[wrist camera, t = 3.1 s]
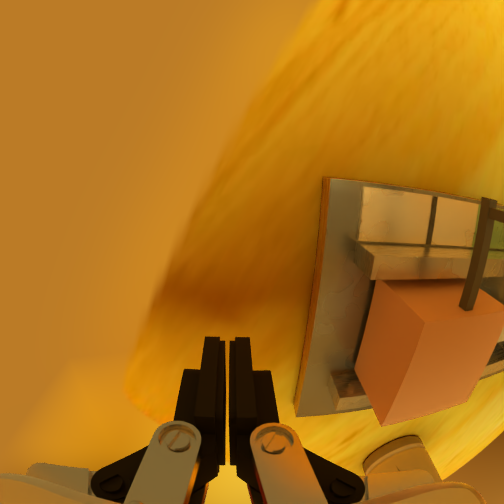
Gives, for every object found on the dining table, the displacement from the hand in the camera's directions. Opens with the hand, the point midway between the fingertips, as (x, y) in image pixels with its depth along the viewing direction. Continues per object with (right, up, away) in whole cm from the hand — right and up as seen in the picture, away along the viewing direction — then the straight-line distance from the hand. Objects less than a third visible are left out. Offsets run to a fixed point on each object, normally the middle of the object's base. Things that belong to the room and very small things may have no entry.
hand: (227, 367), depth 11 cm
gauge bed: (+14, +1, +5) cm, 15 cm away
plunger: (+13, +3, +3) cm, 14 cm away
